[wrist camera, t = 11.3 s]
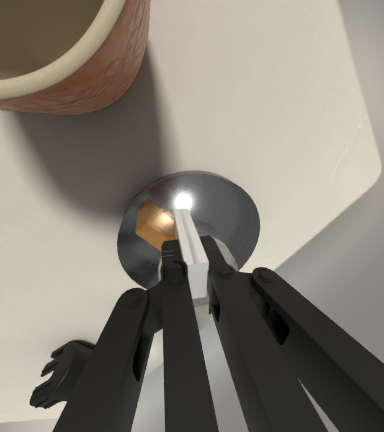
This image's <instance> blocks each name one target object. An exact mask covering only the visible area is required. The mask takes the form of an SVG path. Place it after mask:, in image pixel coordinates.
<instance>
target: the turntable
mask: <svg viewBox="0 0 384 432" xmlns="http://www.w3.org/2000/svg"><path fill="white" fill-rule="evenodd" d="M182 208H188V210H189V213H190V215H191V218H192V220H193V221H201V222H205V223H207V224H209V225H211V226H213V227H214V228H215V229H216V230H217V231H218V233H219V235H220V236H221V238H222V240H223V241H224V243H225V245H226V246H227V248H228V249H229V251H230V253H231V254H232V256H233V258H234V259H235V261H236V263H237V266H238V271H239V270H240V269H241V268H242V267H243V266H244V264H245V263H246V262H247V261H248V259H249V258H250V256H251V255H252V253H253V251H254V249H255V247H256V244H257V241H258V237H259V232H260V219H259V214H258V211H257V208H256V205H255V204H254V202H253V200H252V199H251V197H250V196H249V195H248V194H247V193H246V192H245V191H244V190H243V189H242V188H241V187H239V186H238V185H236V184H235V183H233V182H231V181H230V180H228V179H227V178H225V177H223V176H220V175H218V174H214V173H211V172H205V171H185V172H178V173H175V174H171V175H168V176H165V177H163V178H161V179H159V180H157V181H155V182H153V183H152V184H150V185H149V186H147V187H146V188H145V189H144V190H142V191H141V192H140V193H139V194H138V195H137V196H136V197H135V198H134V200H133V201H132V202H131V204H130V205H129V207H128V208H127V210H126V213H125V215H124V217H123V220H122V223H121V227H120V230H119V233H118V241H117V250H118V256H119V260H120V262H121V264H122V267H123V268H124V270H125V272H126V273H127V274H128V275H129V276H130V278H131V279H132V280H134V281H135V282H136V283H137V284H139V285H140V286H142V287H144V288H146V289H150V288H152V287H154V286H155V285H157V284H158V283H159V277H158V250H159V251H161V246H162V244H163V242H164V241H168V240H176V238H175V226H174V212H173V209H182Z"/></svg>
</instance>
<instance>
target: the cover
mask: <svg viewBox="0 0 384 432" xmlns="http://www.w3.org/2000/svg"><path fill="white" fill-rule="evenodd" d="M193 223H194V226H195V228H196V231H197V233H198V236H206V235H210V236H211V237H212V238H214V240H215V241H216V243H217V245H218V247H219V249H220V251H221V253H222V255H223V257H224V259H225V260H226V262H227V264H228V265H230V266H232V267H233V268H234V269H235V270H236V271H238V266H237V263H236V261H235V259H234V258H233V256H232V254H231V253H230V251H229V249H228V248H227V246H226V245H225V243H224V241H223V240H222V238H221V236H220V235H219V233H218V231H217V230H216V229H215V228H214V227H213V226H211V225H209V224H207V223H205V222H201V221H193ZM161 266H162V253H161V251H159V250H158V277H159V281H160V280H161V272H160V269H161ZM192 300H193V305H194V307H198V306H203V305H207V304H209V295H208V292H207V297H202V298H196V299H192Z"/></svg>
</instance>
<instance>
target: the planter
mask: <svg viewBox="0 0 384 432" xmlns="http://www.w3.org/2000/svg"><path fill="white" fill-rule="evenodd" d="M149 18H150V0H0V110H4V111H17V112H30V113H52V114H61V115H77V114H84V113H89V112H94V111H97V110H100V109H103V108H105V107H107V106H109V105H111V104H112V103H114V102H115V101H116V100H118V99H119V98H120V97H121V96H122V95H123V94H124V93H125V92H126V91H127V90H128V88H129V87H130V86H131V84H132V83H133V81H134V79H135V77H136V75H137V73H138V71H139V69H140V66H141V63H142V60H143V56H144V53H145V49H146V44H147V39H148V31H149Z"/></svg>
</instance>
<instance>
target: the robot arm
mask: <svg viewBox="0 0 384 432" xmlns="http://www.w3.org/2000/svg"><path fill="white" fill-rule="evenodd" d="M173 212H174V226H175V238H176V240H168V241H164V242H163V244H162V246H161V253H162V266H161V269H160V272H161V280H160V281H159V283H158V284H157V285H155V286H154V287H152V288H150V289H148V290H146V291H145V290H143V289H141V288H132V289H130V290H127V291H126V292H125V293H123V294H122V295H121V296H120V298H119V299H118V301H117V303H116V305H115V307H114V309H113V311H112V313H111V315H110V317H109V319H108V321H107V323H106V325H105V327H104V329H103V331H102V333H101V335H100V337H99V339H98V341H97V343H96V345H95V347H94V349H93V351H92V353H91V355H90V357H89V359H88V361H87V363H86V365H85V367H84V369H83V371H82V373H81V375H80V377H79V379H78V381H77V383H76V385H75V387H74V389H73V391H72V393H71V395H70V397H69V399H68V401H67V403H66V405H65V407H64V409H63V411H62V413H61V415H60V417H59V420H58V422H57V424H56V426H55V428H54V430H53V432H131V428H132V424H133V420H134V416H135V411H136V408H137V403H138V399H139V395H140V391H141V386H142V382H143V378H144V374H145V370H146V366H147V362H148V357H149V353H150V349H151V345H152V341H153V337H154V333H156V332H158V331H159V330H161V329H163V355H164V396H165V397H164V399H165V432H219V431H218V426H217V421H216V416H215V410H214V405H213V401H212V395H211V391H210V385H209V380H208V375H207V370H206V366H205V360H204V355H203V350H202V345H201V340H200V335H199V330H198V325H197V320H196V315H195V310H194V305H193V300H192V299H196V298H202V297H207V292H208V295H209V314H211V312H212V315H213V318H214V321H215V325H216V328H217V331H218V334H219V337H220V340H221V344H222V347H223V350H224V353H225V357H226V360H227V363H228V366H229V369H230V373H231V376H232V379H233V382H234V385H235V389H236V392H237V395H238V398H239V401H240V405H241V408H242V411H243V414H244V417H245V420H246V424H247V427H248V430H249V432H328V430H327V429H326V427H325V425H324V423H323V422H322V420H321V418H320V417H319V415H318V413H317V411H316V409H315V408H314V406H313V404H312V403H311V401H310V399H309V397H308V396H307V394H306V392H305V390H304V389H303V387H302V385H301V383H302V384H303V385H304V387H305V388H306V389H307V390H308V392H309V393H310V394H311V396H312V397H313V398H314V399H315V401H316V402H317V404H318V405H319V406H320V407H321V409H322V410H323V411H324V412H325V414H326V415H327V416H328V418H329V419H330V420H331V421H332V423H333V424H334V425H335V427H336V428H337V429H338V430H339V432H384V363H382V362H381V361H380V360H379V359H378V358H376V357H375V356H374V355H373V354H372V353H370V352H369V351H368V350H367V349H366V348H364V347H363V346H362V345H361V344H360V343H358V342H357V341H356V340H355V339H354V338H353V337H351V336H350V335H349V334H348V333H346V332H345V331H344V330H343V329H342V328H341V327H339V326H338V325H337V324H336V323H335V322H333V321H332V320H331V319H330V318H329V317H327V316H326V315H325V314H324V313H323V312H321V311H320V310H319V309H318V308H317V307H316V306H314V305H313V304H312V303H311V302H310V301H308V300H307V299H306V298H305V297H304V296H302V295H301V294H300V293H299V292H298V291H297V290H295V289H294V288H293V287H292V286H291V285H289V284H288V283H287V282H286V281H285V280H283V279H282V278H281V277H280V276H279V275H277V274H276V273H275V272H274V271H272V270H270V269H268V268H264V267H259V268H255V269H254V270H253V272H252V273H244V272H238V271H236V270H235V269H234V268H233V267H232V266H230V265H228V264H227V262H226V260H225V259H224V257H223V255H222V253H221V251H220V249H219V247H218V245H217V243H216V241H215V240H214V238H212V237H211V236H210V235H206V236H198V233H197V231H196V228H195V226H194V223H193V220H192V218H191V215H190V213H189V210H188V208H182V209H173ZM298 379H299V380H300V382H301V383H300V382H299V380H298Z"/></svg>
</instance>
